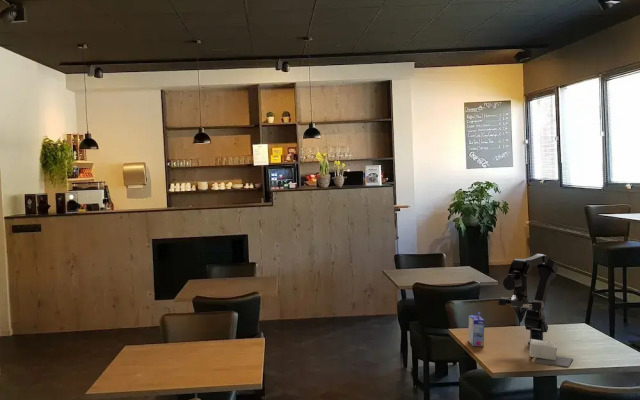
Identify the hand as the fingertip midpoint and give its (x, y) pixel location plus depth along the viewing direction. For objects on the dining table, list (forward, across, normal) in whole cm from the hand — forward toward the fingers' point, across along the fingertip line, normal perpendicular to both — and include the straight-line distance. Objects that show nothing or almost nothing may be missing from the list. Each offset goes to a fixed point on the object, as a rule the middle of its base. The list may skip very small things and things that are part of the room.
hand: (520, 322), depth 265 cm
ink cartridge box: (+13, -20, 0) cm, 24 cm away
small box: (+8, +6, -9) cm, 14 cm away
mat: (+12, +16, -10) cm, 22 cm away
